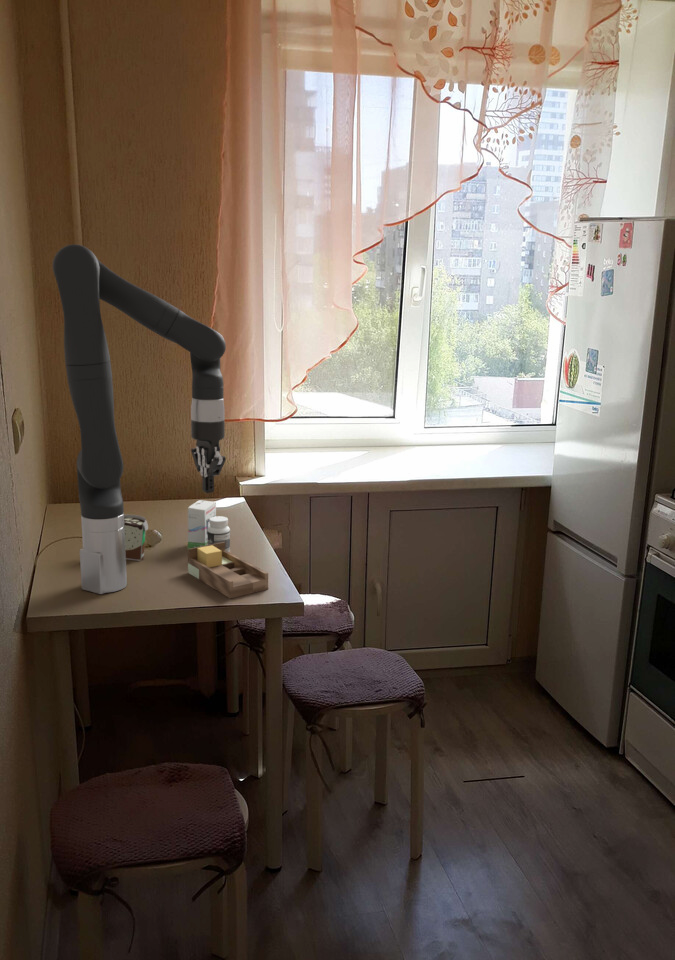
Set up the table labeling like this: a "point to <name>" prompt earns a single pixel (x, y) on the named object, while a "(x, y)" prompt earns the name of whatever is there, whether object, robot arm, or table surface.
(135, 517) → the food container
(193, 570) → the pad
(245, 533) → the table surface
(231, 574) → the board
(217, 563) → the ochre block
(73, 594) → the table surface
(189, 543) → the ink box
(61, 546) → the table surface
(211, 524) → the pill bottle
